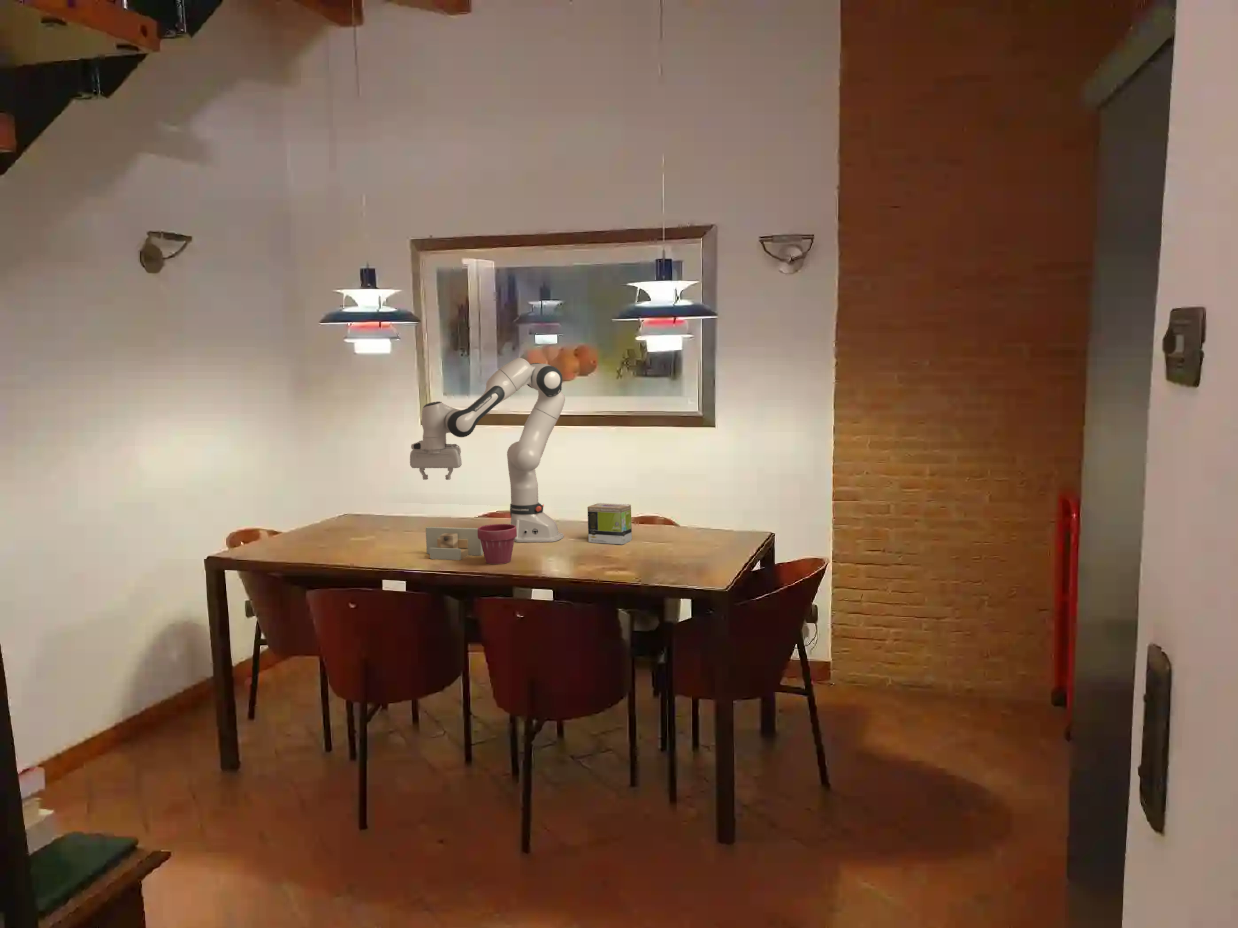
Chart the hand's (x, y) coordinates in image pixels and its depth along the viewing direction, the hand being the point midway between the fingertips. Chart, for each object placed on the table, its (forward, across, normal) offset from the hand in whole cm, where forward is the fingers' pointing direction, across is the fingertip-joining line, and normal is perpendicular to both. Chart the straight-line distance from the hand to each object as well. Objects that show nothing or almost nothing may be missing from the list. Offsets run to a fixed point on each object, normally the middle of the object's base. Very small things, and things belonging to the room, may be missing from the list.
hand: (436, 479), depth 361 cm
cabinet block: (+24, -10, +15) cm, 30 cm away
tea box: (+28, -64, -20) cm, 72 cm away
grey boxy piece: (+27, -10, +14) cm, 32 cm away
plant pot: (+27, -31, +19) cm, 45 cm away
